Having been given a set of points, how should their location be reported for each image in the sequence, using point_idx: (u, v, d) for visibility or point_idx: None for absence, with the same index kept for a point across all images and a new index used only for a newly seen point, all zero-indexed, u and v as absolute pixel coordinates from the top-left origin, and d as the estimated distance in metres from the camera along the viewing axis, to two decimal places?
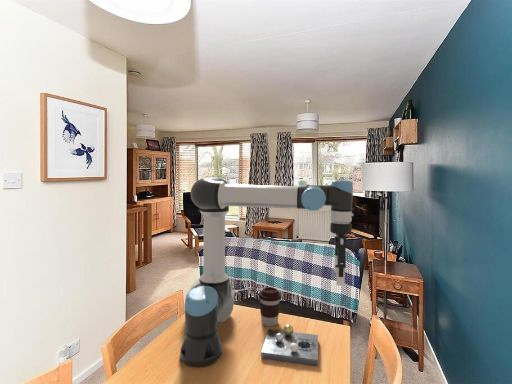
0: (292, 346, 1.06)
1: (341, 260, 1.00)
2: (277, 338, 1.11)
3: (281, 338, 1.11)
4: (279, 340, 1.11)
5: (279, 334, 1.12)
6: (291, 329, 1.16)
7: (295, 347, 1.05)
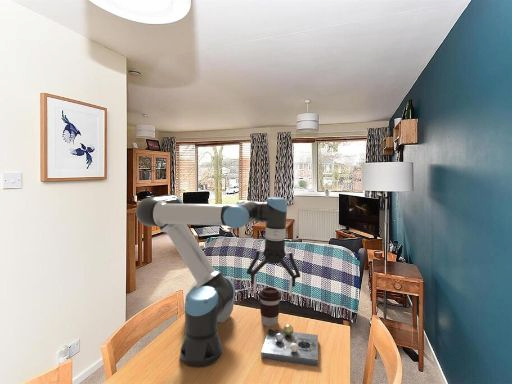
0: (292, 346, 1.06)
1: (249, 267, 1.13)
2: (277, 338, 1.11)
3: (281, 338, 1.11)
4: (279, 340, 1.11)
5: (279, 334, 1.12)
6: (291, 329, 1.16)
7: (295, 347, 1.05)
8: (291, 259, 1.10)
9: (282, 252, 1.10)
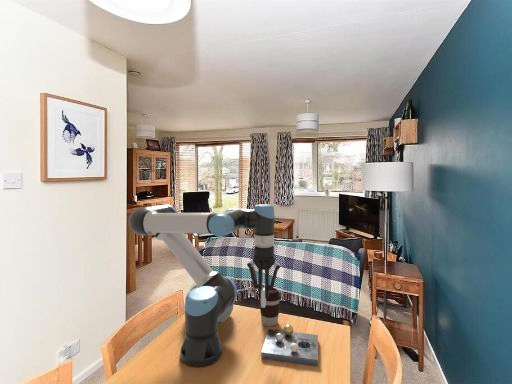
0: (292, 346, 1.06)
1: None
2: (277, 338, 1.11)
3: (281, 338, 1.11)
4: (279, 340, 1.11)
5: (279, 334, 1.12)
6: (291, 329, 1.16)
7: (295, 347, 1.05)
8: (275, 270, 1.10)
9: (272, 259, 1.10)
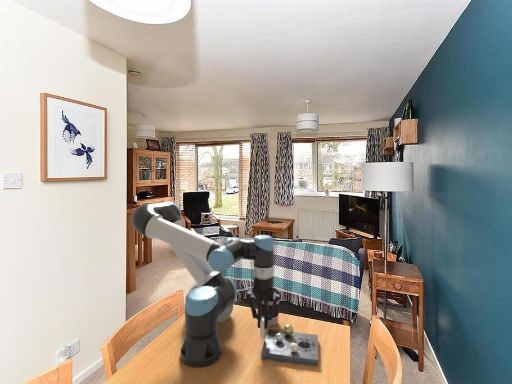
0: (292, 346, 1.06)
1: None
2: (277, 338, 1.11)
3: (281, 338, 1.11)
4: (279, 340, 1.11)
5: (279, 334, 1.12)
6: (291, 329, 1.16)
7: (295, 347, 1.05)
8: (274, 302, 1.11)
9: (272, 291, 1.11)
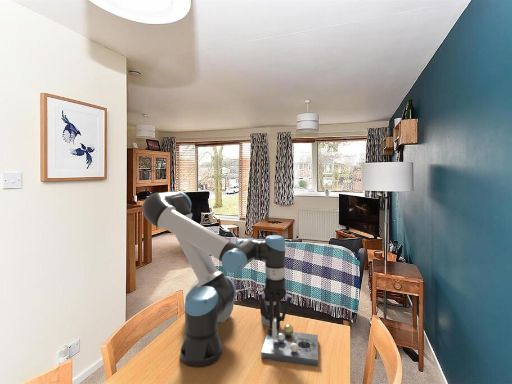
0: (292, 346, 1.06)
1: None
2: (279, 338, 1.11)
3: (283, 339, 1.11)
4: (280, 340, 1.11)
5: (282, 335, 1.12)
6: (291, 329, 1.16)
7: (295, 347, 1.05)
8: (287, 302, 1.10)
9: (284, 291, 1.10)
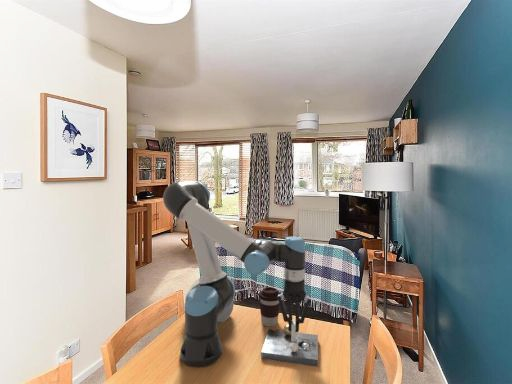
0: (292, 346, 1.06)
1: None
2: (305, 347, 1.10)
3: None
4: None
5: (308, 345, 1.10)
6: None
7: (295, 347, 1.05)
8: (306, 304, 1.09)
9: (303, 293, 1.09)
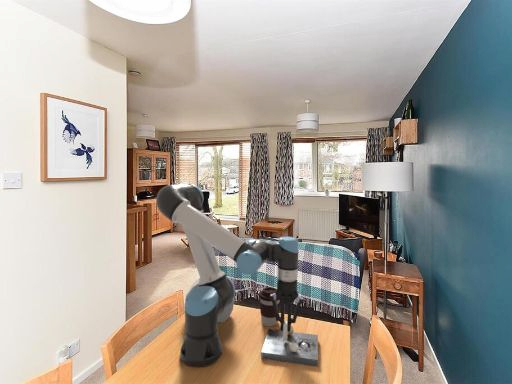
0: (292, 346, 1.06)
1: None
2: (303, 347, 1.10)
3: None
4: None
5: (305, 344, 1.10)
6: (291, 329, 1.16)
7: (295, 347, 1.05)
8: (298, 304, 1.09)
9: (296, 293, 1.09)
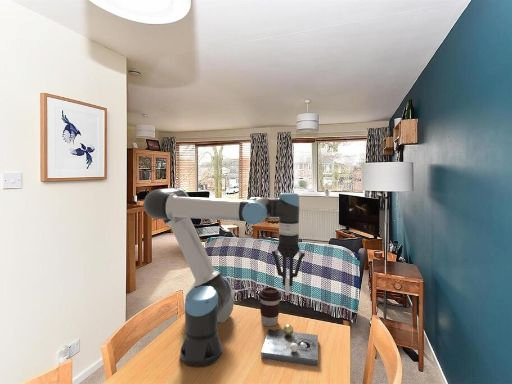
0: (292, 346, 1.06)
1: None
2: None
3: (305, 348, 1.10)
4: None
5: (303, 343, 1.11)
6: (291, 329, 1.16)
7: (295, 347, 1.05)
8: (300, 258, 1.11)
9: (297, 247, 1.11)
